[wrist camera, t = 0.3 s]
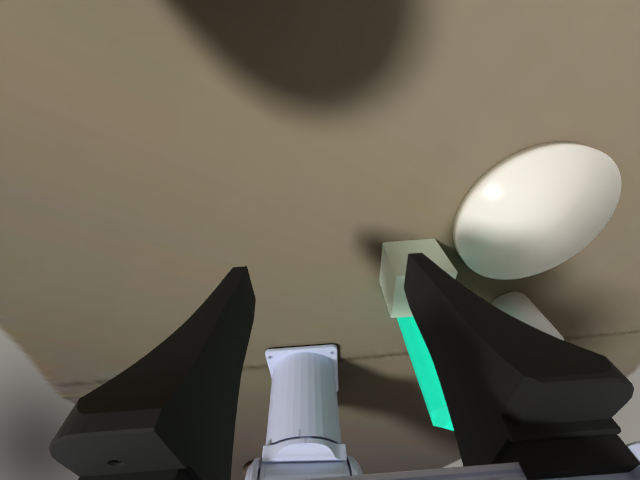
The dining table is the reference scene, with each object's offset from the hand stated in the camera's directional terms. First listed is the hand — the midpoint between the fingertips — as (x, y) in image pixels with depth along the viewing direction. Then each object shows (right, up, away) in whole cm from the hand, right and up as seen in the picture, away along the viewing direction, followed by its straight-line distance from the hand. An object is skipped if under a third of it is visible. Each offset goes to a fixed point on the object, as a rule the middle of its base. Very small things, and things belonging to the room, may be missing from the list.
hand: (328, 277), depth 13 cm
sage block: (+7, 0, +13) cm, 15 cm away
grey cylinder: (+19, -5, +17) cm, 26 cm away
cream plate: (+17, +4, +11) cm, 20 cm away
